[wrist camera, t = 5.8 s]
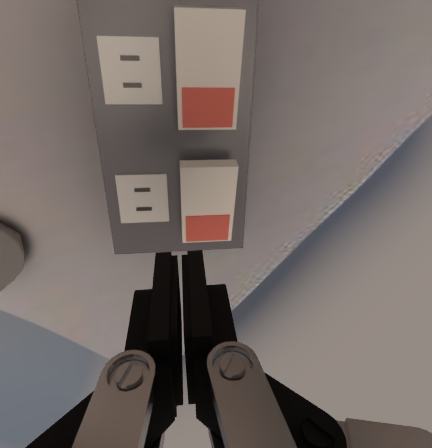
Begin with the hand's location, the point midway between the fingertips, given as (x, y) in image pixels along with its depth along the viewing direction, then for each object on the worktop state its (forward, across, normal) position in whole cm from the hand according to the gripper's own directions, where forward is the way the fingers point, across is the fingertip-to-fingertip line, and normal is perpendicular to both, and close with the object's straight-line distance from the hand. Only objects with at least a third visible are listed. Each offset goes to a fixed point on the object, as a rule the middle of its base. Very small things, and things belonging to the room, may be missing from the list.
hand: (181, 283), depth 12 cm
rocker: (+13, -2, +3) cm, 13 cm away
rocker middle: (+13, -2, -6) cm, 14 cm away
